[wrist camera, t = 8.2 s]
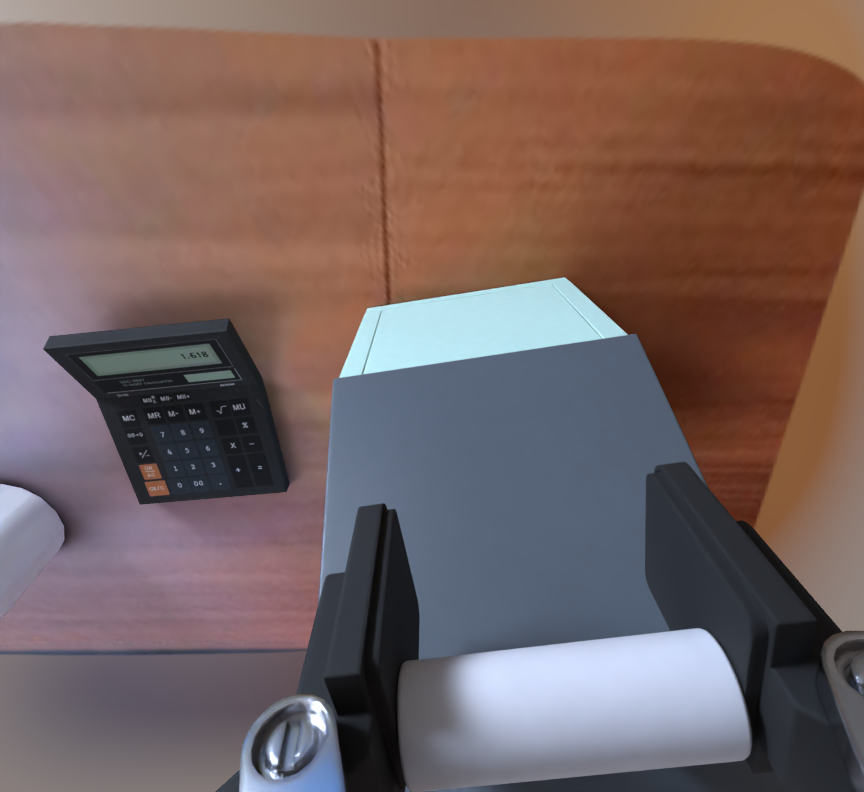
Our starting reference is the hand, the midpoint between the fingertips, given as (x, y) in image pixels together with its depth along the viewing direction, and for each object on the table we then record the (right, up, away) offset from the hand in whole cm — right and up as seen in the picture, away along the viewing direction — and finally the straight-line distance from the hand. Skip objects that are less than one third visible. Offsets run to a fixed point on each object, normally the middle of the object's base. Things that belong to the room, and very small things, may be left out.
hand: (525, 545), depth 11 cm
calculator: (-16, +2, +20) cm, 26 cm away
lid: (0, -1, +4) cm, 4 cm away
